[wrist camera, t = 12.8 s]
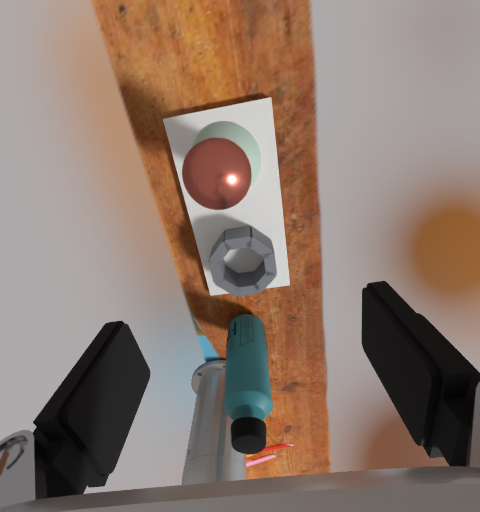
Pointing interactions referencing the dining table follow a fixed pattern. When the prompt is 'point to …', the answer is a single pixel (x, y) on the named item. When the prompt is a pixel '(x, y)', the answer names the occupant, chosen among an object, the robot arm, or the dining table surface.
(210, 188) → the copper domed post
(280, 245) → the board
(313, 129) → the dining table surface
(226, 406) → the beverage bottle
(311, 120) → the dining table surface
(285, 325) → the dining table surface
